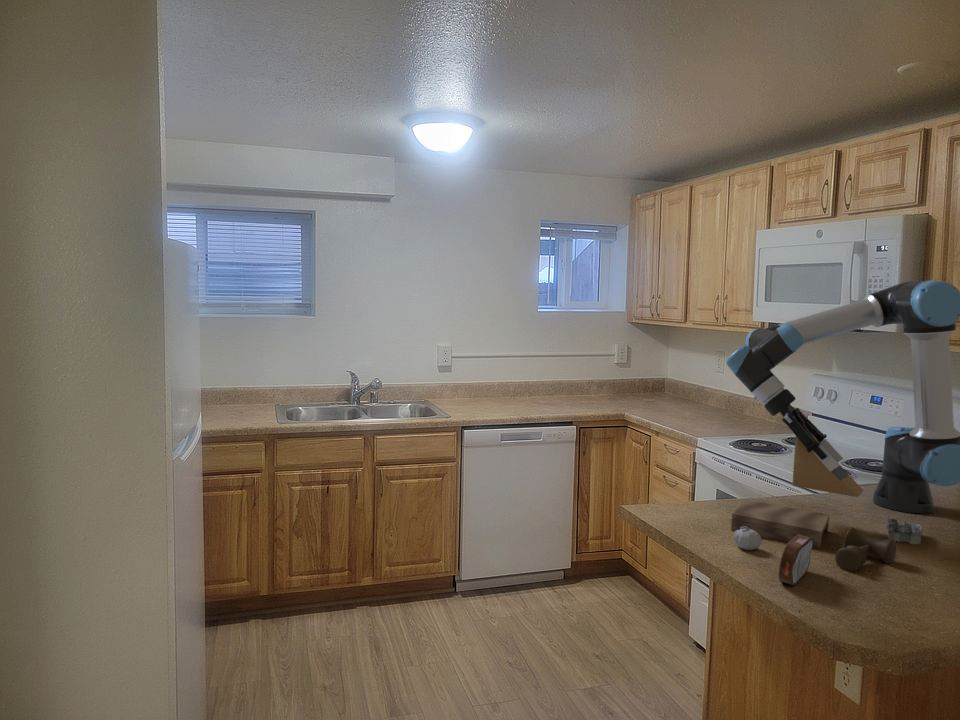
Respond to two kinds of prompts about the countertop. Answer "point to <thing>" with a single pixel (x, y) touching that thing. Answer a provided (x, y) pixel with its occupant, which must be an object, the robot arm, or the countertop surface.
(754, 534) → the garlic
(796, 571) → the tin
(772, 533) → the walnut shelf
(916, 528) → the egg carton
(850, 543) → the kendama
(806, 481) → the sandwich container
